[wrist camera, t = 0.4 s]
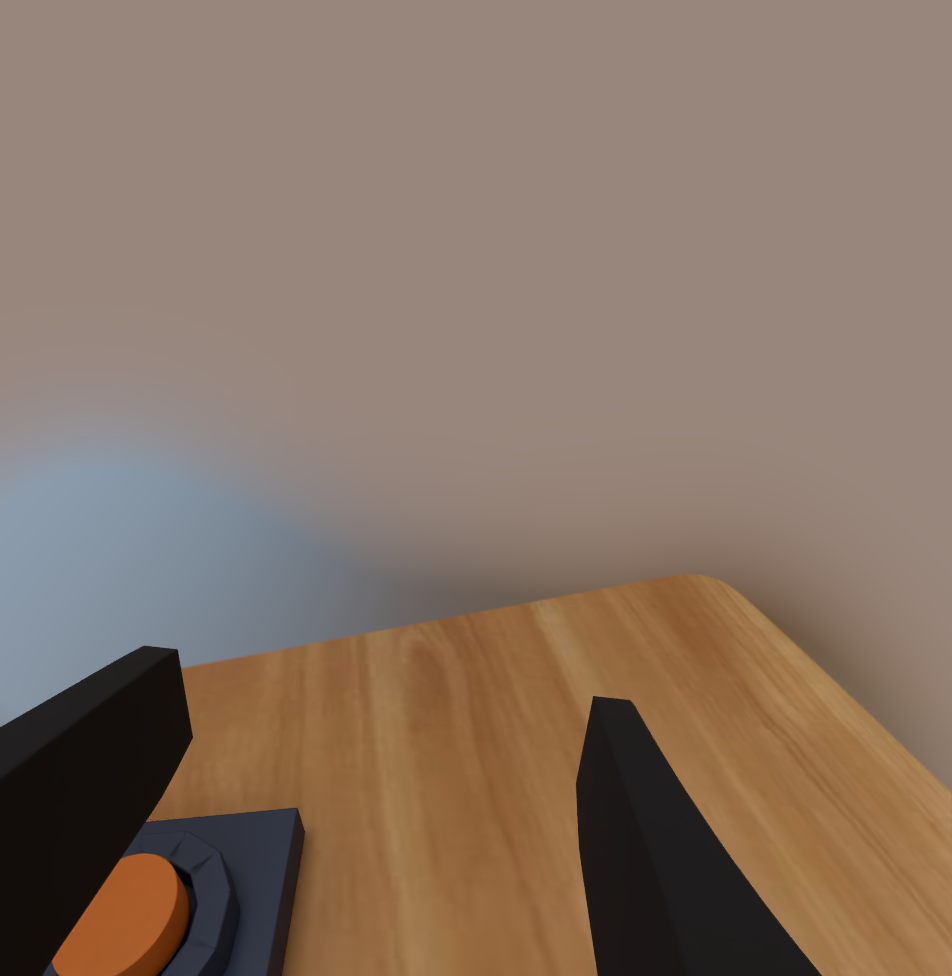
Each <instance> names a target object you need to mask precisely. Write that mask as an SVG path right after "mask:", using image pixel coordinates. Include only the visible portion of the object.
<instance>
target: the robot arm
mask: <svg viewBox="0 0 952 976" xmlns="http://www.w3.org/2000/svg"><path fill="white" fill-rule="evenodd" d="M192 738H193V735H192V729H191V723H190V718H189V712H188V706H187V701H186V695H185V689H184V683H183V678H182V672H181V666H180V661H179V655H178V650H177V649H169V648H160V647H151V646H143V647H140V648H139V649H137V650H135V651H133V652H131V653H129V654H127V655H125V656H123V657H122V658H120V659H118V660H116V661H114V662H113V663H111V664H109V665H107V666H106V667H104V668H102V669H100V670H99V671H97V672H95V673H93V674H92V675H90V676H88V677H87V678H85V679H83V680H81V681H80V682H78V683H76V684H75V685H73V686H71V687H69V688H68V689H66V690H64V691H63V692H61V693H59V694H57V695H56V696H54V697H52V698H51V699H49V700H47V701H45V702H44V703H42V704H40V705H38V706H37V707H35V708H33V709H31V710H30V711H28V712H26V713H24V714H23V715H21V716H19V717H17V718H16V719H14V720H12V721H11V722H9V723H7V724H5V725H3V726H2V727H0V976H43V974H44V972H45V971H46V969H47V968H48V966H49V965H50V963H51V961H52V960H53V958H54V957H55V955H56V954H57V952H58V950H59V949H60V947H61V946H62V944H63V943H64V941H65V940H66V938H67V937H68V935H69V934H70V932H71V931H72V930H73V928H74V927H75V925H76V924H77V922H78V921H79V919H80V918H81V916H82V915H83V913H84V912H85V910H86V909H87V908H88V906H89V905H90V903H91V902H92V900H93V899H94V897H95V896H96V894H97V893H98V891H99V890H100V888H101V887H102V885H103V884H104V883H105V881H106V880H107V878H108V877H109V875H110V874H111V872H112V871H113V869H114V868H115V866H116V865H117V863H118V862H119V860H120V859H121V858H122V856H123V855H124V853H125V852H126V850H127V849H128V847H129V846H130V844H131V843H132V841H133V840H134V838H135V837H136V835H137V834H138V832H139V831H140V829H141V828H142V826H143V825H144V823H145V822H146V820H147V819H148V817H149V816H150V814H151V813H152V811H153V810H154V808H155V807H156V805H157V804H158V802H159V801H160V799H161V798H162V796H163V794H164V792H165V790H166V788H167V787H168V785H169V783H170V781H171V779H172V777H173V776H174V774H175V772H176V770H177V768H178V766H179V764H180V762H181V760H182V758H183V756H184V754H185V752H186V750H187V748H188V746H189V744H190V742H191V740H192ZM576 794H577V817H578V836H579V851H580V859H581V866H582V873H583V880H584V886H585V893H586V900H587V907H588V914H589V920H590V927H591V934H592V941H593V947H594V954H595V961H596V967H597V974H598V976H822V975H821V974H820V973H819V971H818V970H817V969H816V968H815V967H814V965H813V964H812V963H811V962H810V960H809V959H808V958H807V957H806V955H805V954H804V953H803V952H802V951H801V949H800V948H799V947H798V946H797V944H796V943H795V942H794V941H793V939H792V938H791V937H790V936H789V934H788V933H787V932H786V930H785V929H784V928H783V927H782V925H781V924H780V923H779V921H778V920H777V919H776V918H775V916H774V915H773V914H772V912H771V911H770V910H769V908H768V907H767V906H766V904H765V903H764V902H763V900H762V899H761V898H760V896H759V895H758V894H757V892H756V891H755V890H754V888H753V887H752V885H751V884H750V883H749V881H748V880H747V879H746V877H745V876H744V875H743V873H742V872H741V870H740V869H739V868H738V866H737V865H736V864H735V862H734V861H733V859H732V858H731V857H730V855H729V854H728V852H727V851H726V849H725V848H724V847H723V845H722V844H721V842H720V841H719V839H718V838H717V837H716V835H715V834H714V832H713V831H712V829H711V828H710V826H709V825H708V823H707V822H706V820H705V819H704V817H703V816H702V814H701V813H700V811H699V810H698V808H697V807H696V805H695V804H694V802H693V801H692V799H691V798H690V796H689V795H688V793H687V792H686V790H685V789H684V787H683V785H682V784H681V782H680V781H679V779H678V778H677V776H676V774H675V773H674V771H673V770H672V768H671V766H670V765H669V763H668V761H667V760H666V758H665V757H664V755H663V753H662V752H661V750H660V748H659V747H658V745H657V743H656V742H655V740H654V738H653V737H652V735H651V733H650V731H649V730H648V728H647V726H646V725H645V723H644V721H643V719H642V718H641V716H640V714H639V712H638V711H637V709H636V707H635V706H634V705H633V703H632V702H631V701H630V700H623V699H614V698H605V697H597V696H593V700H592V705H591V710H590V715H589V720H588V725H587V730H586V736H585V741H584V746H583V751H582V756H581V761H580V766H579V771H578V776H577V781H576Z"/></svg>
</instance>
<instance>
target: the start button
mask: <svg viewBox="0 0 952 976" xmlns="http://www.w3.org/2000/svg"><path fill="white" fill-rule="evenodd" d="M189 914H190V901H189V896H188V893H187V890H186V888H185V886H184V885H183V883H182V881H181V880H180V878H179V876H178V875H177V873H176V871H175V870H174V868H173V866H172V865H171V864H170V863H169V862H168V861H167V860H166V859H165V858H163V857H161V856H158V855H155V854H148V853H143V854H135V855H131V856H127V857H124V858H122V859H120V860H119V862H118V863H117V865H116V866H115V868H114V869H113V871H112V872H111V874H110V875H109V877H108V878H107V880H106V881H105V883H104V884H103V885H102V887H101V888H100V890H99V891H98V893H97V894H96V896H95V897H94V899H93V900H92V902H91V903H90V905H89V906H88V908H87V909H86V910H85V912H84V913H83V915H82V916H81V918H80V919H79V921H78V922H77V924H76V925H75V927H74V928H73V930H72V931H71V932H70V934H69V935H68V937H67V938H66V940H65V941H64V943H63V944H62V946H61V947H60V949H59V950H58V952H57V954H56V955H55V957H54V958H53V960H52V963H53V967H54V969H55V971H56V973H57V974H58V975H59V976H157V975H158V974H159V973H160V972H161V971H162V970H163V969H164V967H165V966H166V965H167V964H168V962H169V961H170V960H171V958H172V957H173V955H174V954H175V952H176V950H177V949H178V947H179V945H180V943H181V941H182V939H183V937H184V934H185V931H186V928H187V925H188V921H189Z"/></svg>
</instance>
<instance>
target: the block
mask: <svg viewBox="0 0 952 976" xmlns="http://www.w3.org/2000/svg"><path fill="white" fill-rule="evenodd" d="M304 834H305V831H304V827H303V824H302V821H301V818H300V815H299V811H298V808H290V809H279V810H269V811H258V812H247V813H237V814H226V815H216V816H205V817H194V818H184V819H173V820H163V821H152V822H145V823H144V825H143V826H142V828H141V829H140V831H139V832H138V834H137V835H136V837H135V838H134V840H133V841H132V843H131V844H130V846H129V847H128V849H127V850H126V852H125V853H124V855H123V856H122V858H124V857H127V856H131V855H135V854H143V853H148V854H155V855H158V856H161V857H163V858H165V859H166V860H167V861H168V862H169V863H170V864H171V865H172V866H173V868H174V870H175V871H176V873H177V875H178V876H179V878H180V880H181V881H182V883H183V885H184V886H185V888H186V890H187V893H188V896H189V901H190V914H189V921H188V925H187V928H186V931H185V934H184V937H183V939H182V941H181V943H180V945H179V947H178V949H177V950H176V952H175V954H174V955H173V957H172V958H171V960H170V961H169V962H168V964H167V965H166V966H165V967H164V969H163V970H162V971H161V972H160V973H159V974H158V975H157V976H281V975H282V969H283V962H284V956H285V950H286V944H287V938H288V932H289V926H290V920H291V914H292V908H293V901H294V895H295V889H296V883H297V877H298V871H299V865H300V859H301V853H302V847H303V841H304ZM122 858H121V859H122ZM43 976H59V975H58V974H57V973H56V971H55V969H54V967H53V963H52V961H51V963H50V965H49V966H48V968H47V969H46V971H45V972H44V974H43Z"/></svg>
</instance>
